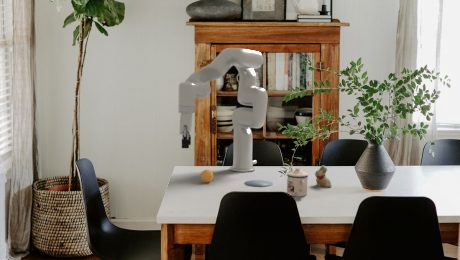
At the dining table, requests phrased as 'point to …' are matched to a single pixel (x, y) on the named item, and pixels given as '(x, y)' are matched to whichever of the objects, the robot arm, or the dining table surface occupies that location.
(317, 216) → the dining table surface
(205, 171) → the ball
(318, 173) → the chocolate bunny
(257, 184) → the disc
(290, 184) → the teacup with lid
